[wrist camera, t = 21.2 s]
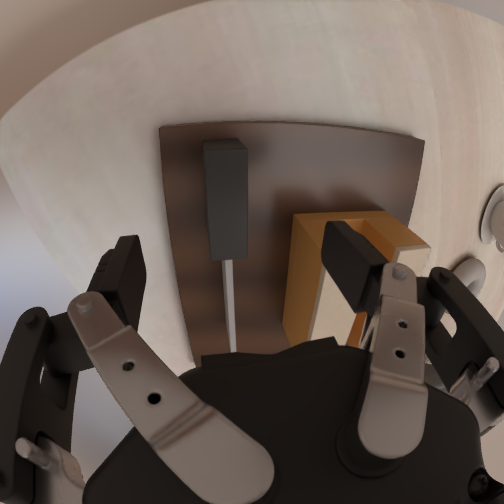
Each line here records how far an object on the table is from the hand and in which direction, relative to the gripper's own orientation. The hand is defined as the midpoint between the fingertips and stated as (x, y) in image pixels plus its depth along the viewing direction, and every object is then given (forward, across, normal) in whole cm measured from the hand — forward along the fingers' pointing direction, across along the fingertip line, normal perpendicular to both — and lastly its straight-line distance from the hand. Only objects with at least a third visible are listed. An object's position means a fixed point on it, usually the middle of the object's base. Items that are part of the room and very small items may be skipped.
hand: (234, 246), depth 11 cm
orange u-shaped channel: (+9, -10, +9) cm, 16 cm away
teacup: (+10, -40, +4) cm, 42 cm away
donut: (+10, -36, +16) cm, 40 cm away
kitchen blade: (+9, 0, +5) cm, 10 cm away
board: (+10, -7, +9) cm, 15 cm away
